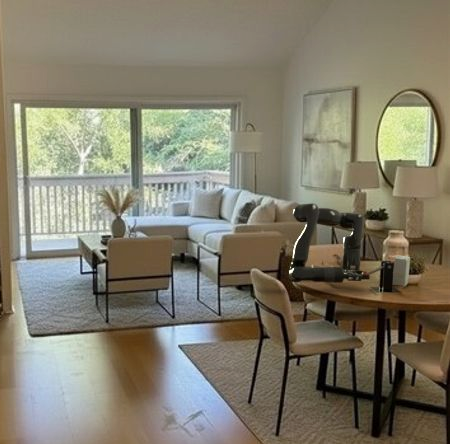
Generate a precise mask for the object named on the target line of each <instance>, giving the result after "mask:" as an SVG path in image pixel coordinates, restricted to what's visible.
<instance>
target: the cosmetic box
mask: <svg viewBox="0 0 450 444" xmlns="http://www.w3.org/2000/svg"><path fill="white" fill-rule="evenodd" d="M393 263H394V271H393V286H400V287H405V286H407V285H408V284H409V276H410V275H409V274H410V266H411V264H410V263H411V256H406V255H400V254H399V255H397V256H396V257H395V258H394V262H393Z"/></svg>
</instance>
